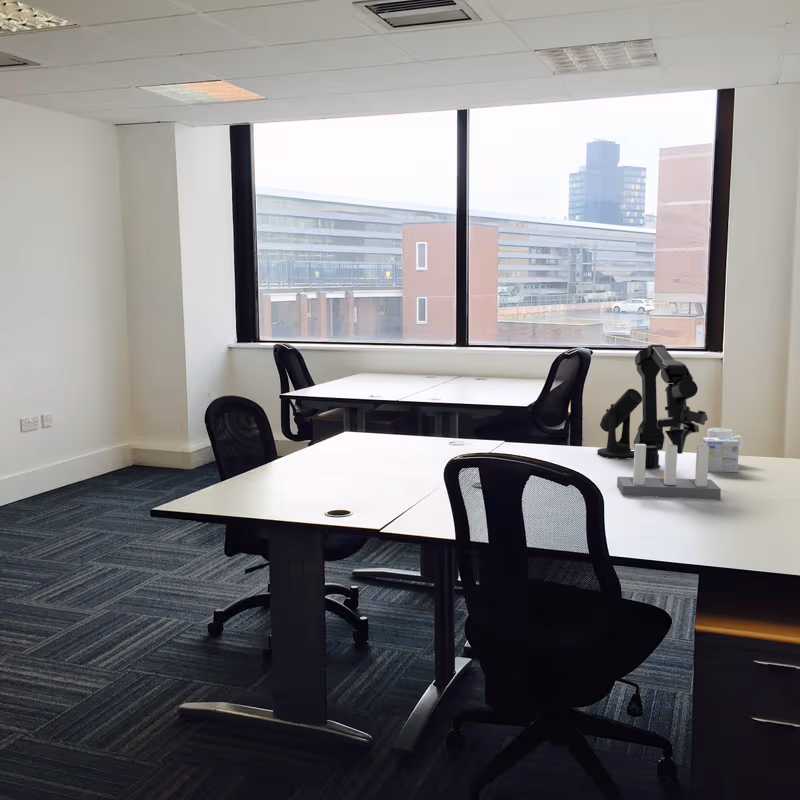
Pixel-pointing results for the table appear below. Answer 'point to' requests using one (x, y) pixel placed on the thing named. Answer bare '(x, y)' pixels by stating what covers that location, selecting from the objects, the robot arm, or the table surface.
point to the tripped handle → (670, 465)
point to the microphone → (613, 420)
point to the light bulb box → (722, 454)
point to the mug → (722, 434)
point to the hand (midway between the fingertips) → (680, 453)
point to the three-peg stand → (656, 486)
